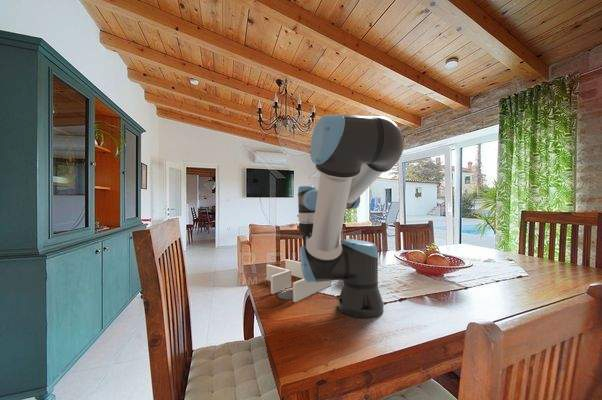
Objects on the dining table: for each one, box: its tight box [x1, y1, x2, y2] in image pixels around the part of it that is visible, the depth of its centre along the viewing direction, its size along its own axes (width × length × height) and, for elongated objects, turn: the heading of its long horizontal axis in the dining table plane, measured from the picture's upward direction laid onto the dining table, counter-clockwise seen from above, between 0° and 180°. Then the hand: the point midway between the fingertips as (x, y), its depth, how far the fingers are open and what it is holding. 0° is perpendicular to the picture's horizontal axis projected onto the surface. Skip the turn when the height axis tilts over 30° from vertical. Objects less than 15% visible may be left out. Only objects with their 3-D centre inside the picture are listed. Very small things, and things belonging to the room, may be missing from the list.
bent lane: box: [265, 259, 332, 303], centre depth 111 cm, size 27×23×7 cm
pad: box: [277, 289, 293, 300], centre depth 100 cm, size 8×8×1 cm
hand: (308, 276), depth 109 cm, fingers closed on lemon, 5 cm apart
